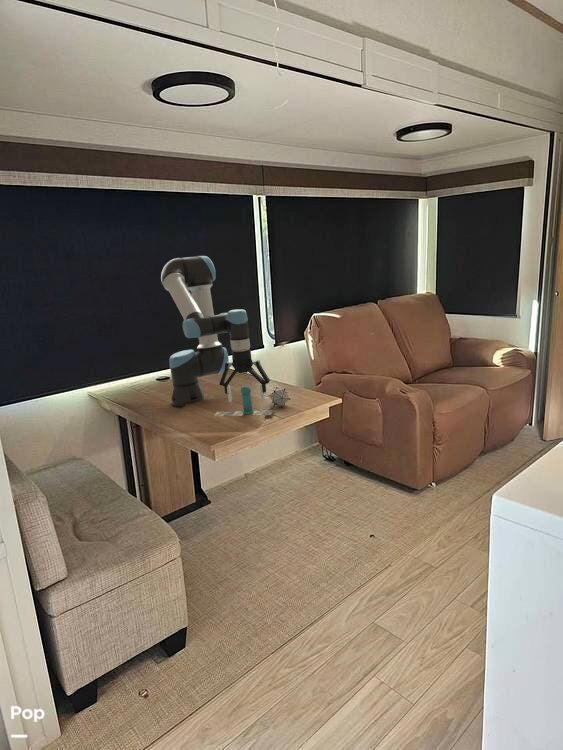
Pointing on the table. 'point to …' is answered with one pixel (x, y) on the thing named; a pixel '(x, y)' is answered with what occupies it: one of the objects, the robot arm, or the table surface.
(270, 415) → the board
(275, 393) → the game die
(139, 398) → the table surface
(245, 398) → the pawn
